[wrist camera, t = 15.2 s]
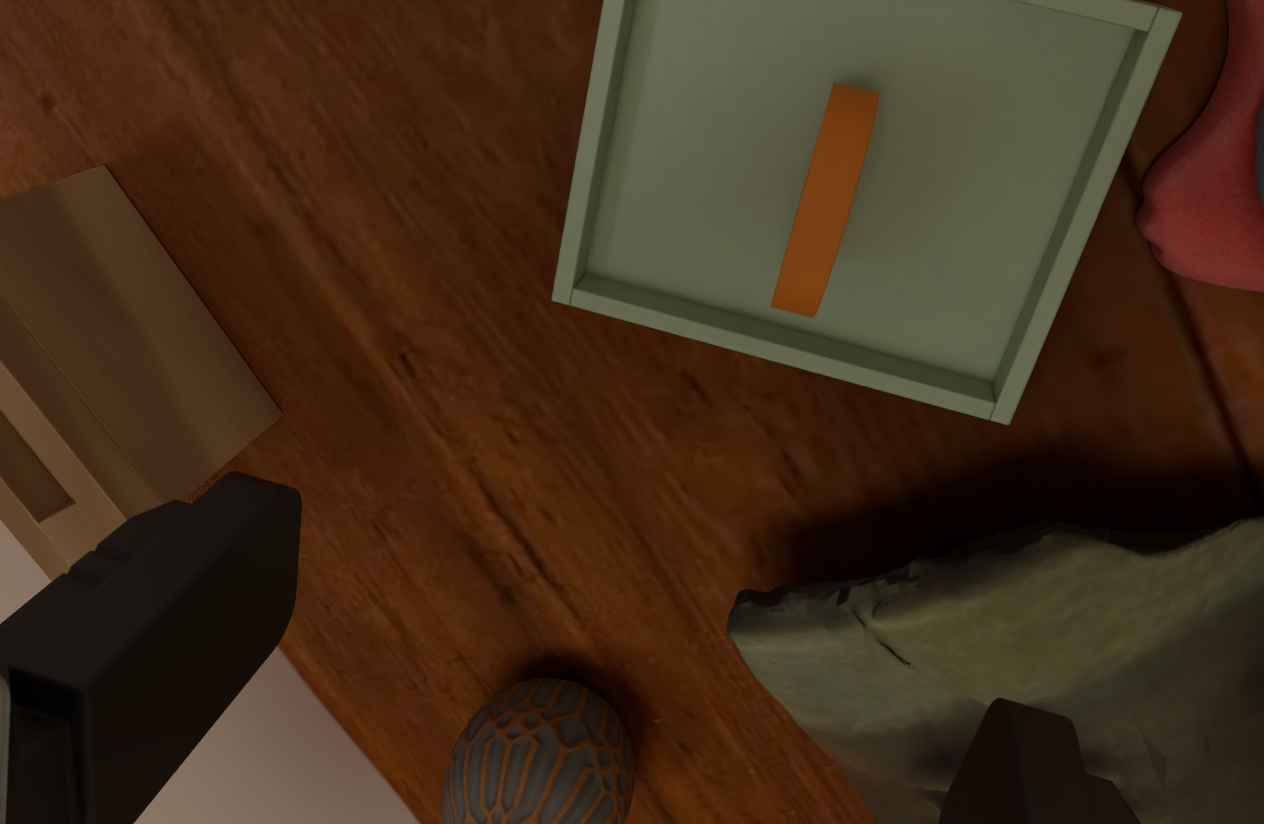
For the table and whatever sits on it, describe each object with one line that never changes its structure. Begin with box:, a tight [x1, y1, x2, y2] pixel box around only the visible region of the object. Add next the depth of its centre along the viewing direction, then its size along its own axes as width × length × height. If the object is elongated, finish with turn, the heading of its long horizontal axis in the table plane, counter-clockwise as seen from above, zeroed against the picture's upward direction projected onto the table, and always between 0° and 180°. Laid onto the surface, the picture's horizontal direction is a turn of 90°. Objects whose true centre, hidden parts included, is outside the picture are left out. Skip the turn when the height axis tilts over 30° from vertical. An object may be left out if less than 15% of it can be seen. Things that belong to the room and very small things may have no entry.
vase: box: [441, 678, 634, 824], centre depth 38 cm, size 7×7×9 cm
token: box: [771, 82, 879, 318], centre depth 28 cm, size 1×6×6 cm, turn 168°
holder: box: [0, 165, 283, 580], centre depth 34 cm, size 4×10×8 cm, turn 31°
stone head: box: [727, 515, 1264, 824], centre depth 35 cm, size 19×8×28 cm
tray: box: [552, 0, 1182, 425], centre depth 30 cm, size 14×12×2 cm
